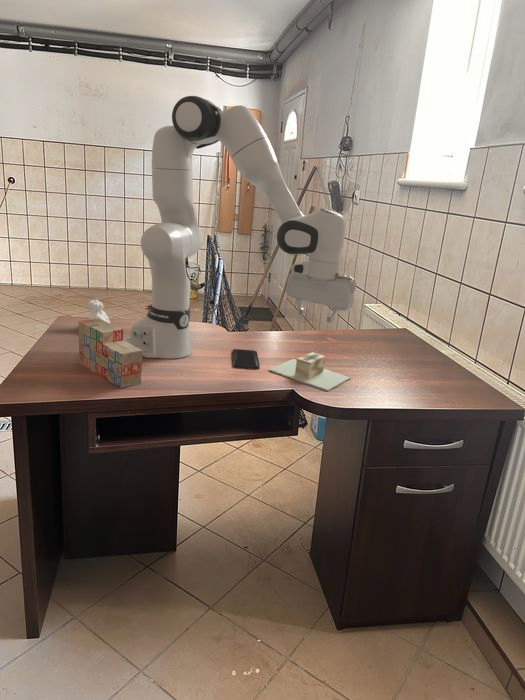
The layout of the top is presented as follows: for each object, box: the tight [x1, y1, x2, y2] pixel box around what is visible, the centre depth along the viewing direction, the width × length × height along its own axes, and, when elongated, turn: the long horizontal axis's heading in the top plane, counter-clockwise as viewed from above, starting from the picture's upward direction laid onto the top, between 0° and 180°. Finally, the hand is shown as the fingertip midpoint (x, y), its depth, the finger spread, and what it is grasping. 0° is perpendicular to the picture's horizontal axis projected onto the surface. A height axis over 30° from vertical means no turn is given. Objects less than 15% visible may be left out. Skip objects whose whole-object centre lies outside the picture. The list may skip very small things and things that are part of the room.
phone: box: [231, 348, 261, 370], centre depth 158 cm, size 8×1×15 cm
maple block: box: [295, 351, 326, 379], centre depth 151 cm, size 9×4×5 cm, turn 145°
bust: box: [86, 299, 111, 324], centre depth 170 cm, size 12×8×11 cm
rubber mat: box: [267, 358, 351, 392], centre depth 152 cm, size 20×14×1 cm
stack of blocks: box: [77, 318, 143, 389], centre depth 136 cm, size 21×6×12 cm, turn 46°
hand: (315, 318), depth 147 cm, fingers open, 8 cm apart
